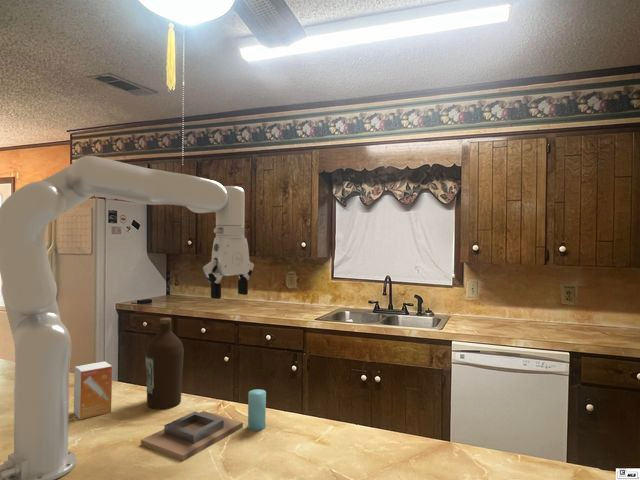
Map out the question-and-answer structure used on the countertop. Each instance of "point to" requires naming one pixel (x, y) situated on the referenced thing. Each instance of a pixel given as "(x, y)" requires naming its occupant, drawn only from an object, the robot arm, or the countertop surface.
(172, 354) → the olive oil
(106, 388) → the small box
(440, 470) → the countertop surface
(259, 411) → the teal peg
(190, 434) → the collar board
